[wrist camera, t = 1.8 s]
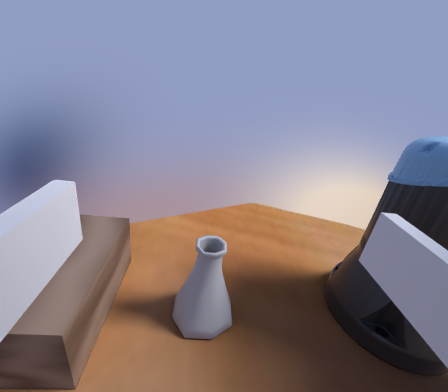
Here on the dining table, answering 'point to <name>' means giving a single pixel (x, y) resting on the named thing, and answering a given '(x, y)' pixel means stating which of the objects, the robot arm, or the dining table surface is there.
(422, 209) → the robot arm
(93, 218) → the walnut block
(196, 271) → the flask
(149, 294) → the dining table surface
